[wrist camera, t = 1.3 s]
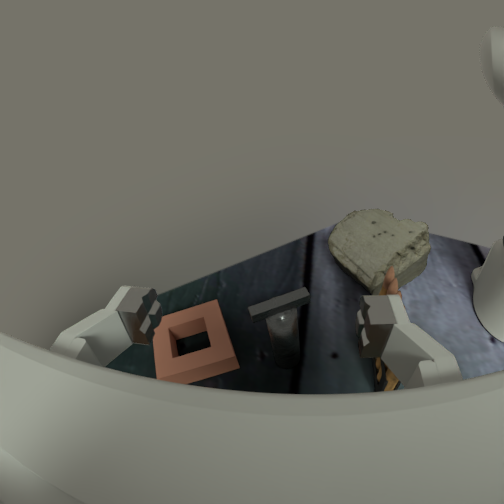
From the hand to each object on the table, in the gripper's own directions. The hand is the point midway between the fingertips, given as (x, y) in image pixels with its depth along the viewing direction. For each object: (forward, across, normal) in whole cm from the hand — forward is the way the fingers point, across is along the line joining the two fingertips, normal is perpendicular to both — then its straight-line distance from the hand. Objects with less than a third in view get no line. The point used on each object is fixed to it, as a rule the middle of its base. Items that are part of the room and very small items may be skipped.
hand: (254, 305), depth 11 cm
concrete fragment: (+30, -15, +19) cm, 38 cm away
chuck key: (+14, -1, +22) cm, 26 cm away
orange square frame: (+15, +11, +23) cm, 30 cm away
